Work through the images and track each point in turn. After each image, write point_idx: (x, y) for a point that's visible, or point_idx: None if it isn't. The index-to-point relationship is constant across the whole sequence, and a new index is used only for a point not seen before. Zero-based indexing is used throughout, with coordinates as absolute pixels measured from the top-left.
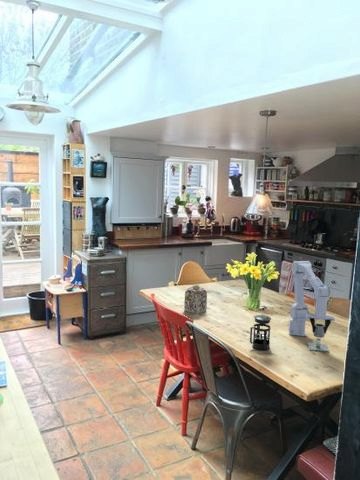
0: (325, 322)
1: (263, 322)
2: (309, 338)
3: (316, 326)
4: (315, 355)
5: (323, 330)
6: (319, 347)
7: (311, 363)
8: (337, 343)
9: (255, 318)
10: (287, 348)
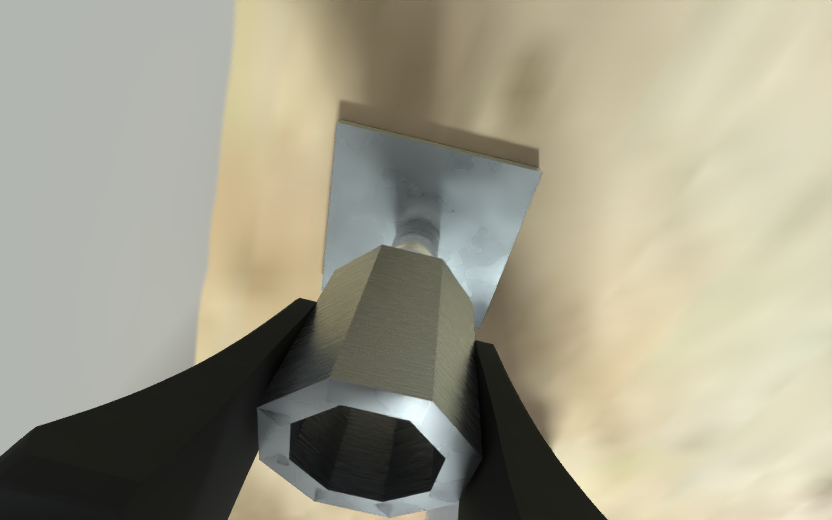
0: (200, 512)
1: None
2: None
3: (455, 418)
4: (531, 15)
5: (322, 328)
6: (410, 218)
7: None
8: (228, 319)
9: None
10: (765, 217)
